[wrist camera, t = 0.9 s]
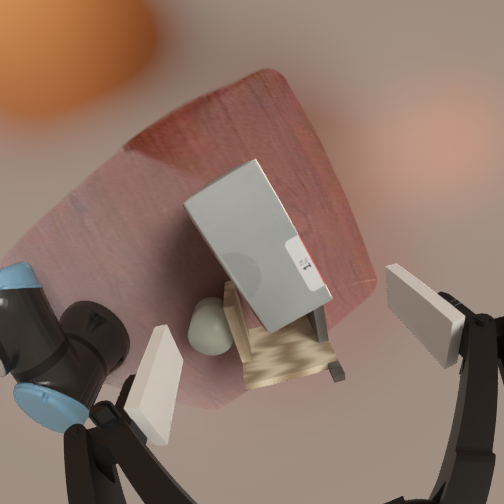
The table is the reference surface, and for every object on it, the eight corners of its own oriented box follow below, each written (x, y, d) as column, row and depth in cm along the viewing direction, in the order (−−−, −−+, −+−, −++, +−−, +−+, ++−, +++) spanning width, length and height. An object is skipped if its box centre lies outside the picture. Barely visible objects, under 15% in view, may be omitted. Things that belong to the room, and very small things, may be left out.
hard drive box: (295, 244, 47) (335, 302, 28) (254, 268, 48) (267, 339, 29) (246, 159, 42) (256, 158, 23) (202, 185, 43) (177, 205, 24)
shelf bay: (242, 336, 52) (247, 405, 35) (224, 281, 48) (221, 341, 32) (315, 317, 51) (345, 379, 35) (304, 261, 48) (338, 311, 32)
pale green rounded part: (200, 335, 51) (196, 358, 44) (187, 302, 49) (181, 322, 42) (238, 327, 51) (238, 350, 44) (227, 292, 49) (226, 313, 42)
